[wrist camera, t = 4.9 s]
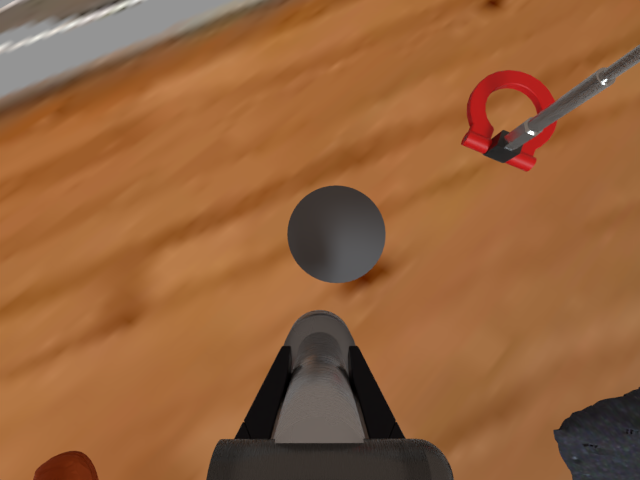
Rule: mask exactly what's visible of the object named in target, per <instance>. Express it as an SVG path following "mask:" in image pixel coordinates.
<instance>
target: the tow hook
mask: <svg viewBox="0 0 640 480" xmlns="http://www.w3.org/2000/svg"><path fill="white" fill-rule="evenodd" d="M639 62H640V45H638V46H637V47H635V48H634V49H633V50H631V51H630V52H628V53H627V54H626V55H624V56H623V57H621V58H620V59H619V60H617V61H616V62H614V63H613V64H612V65H610V66H609V67H607V68H606V67H603V68H600V69H599V70H597V71H596V72H595V73H593V74H592V75H590V76H589V77H588V78H586V79H585V80H584V81H582V82H581V83H579V84H578V85H577V86H575V87H574V88H573V89H571V90H570V91H569V92H567V93H566V94H564V95H563V96H562V97H560V98H559V99H558V100H556V101H555V100H554V98H553V96H552V95H551V93H550V91H549V90H548V88H547V87H546V86H545V85H544V84H543V83H542V82H541V81H539V80H538V79H536V78H535V77H533V76H531V75H529V74H526V73H524V72H521V71H514V70H504V71H498V72H495V73H493V74H490V75H488V76H487V77H485V78H484V79H483V80H482V81H480V82H479V83H478V85H477V86H476V87H475V88H474V90H473V91H472V93H471V94H470V97H469V100H468V103H467V118H468V123H469V126H470V128H469V131H468V132H467V133H466V134H465V136H464V137H463V139H462V142H461V145H463V146H465V147H468V148H470V149H472V150H475V151H477V152H480V153H482V154H483V155H484V156H486V157H489V158H491V159H493V160H496V161H498V162H501V163H506V164H509V165H511V166H514V167H516V168H518V169H521V170H523V171H526V172H527V171H529V170H531V169H532V168H533V166H534V165H535V163H536V160H537V159H536V158H535V157H533V156H534V153H535V150H536V149H538V148H539V147H541V146H542V145H543V144H545V143H546V142H547V141H548V140H549V139H550V137H551V136H552V134H553V133H554V131H555V128H556V124H557V121H558V119H560V118H561V117H563V116H564V115H566V114H567V113H569V112H570V111H572V110H573V109H575V108H577V107H578V106H580V105H581V104H583V103H584V102H586V101H587V100H589V99H590V98H592V97H593V96H595V95H597V94H598V93H600V92H601V91H603V90H604V89H606V88H607V87H609V86H610V85H612V84H613V83H614V82H615V80H616V77H618V76H619V75H621V74H622V73H624V72H625V71H627V70H628V69H630V68H631V67H633V66H634V65H636V64H637V63H639ZM505 88H508V89H515V90H517V91H520V92H522V93H523V94H525V95H527V97H528V98H529V99H530V100H531V101H532V102H533V104H534V106H535V108H536V112H537V115H536V116H534V117H530V118H529V119H527V120H526V121H525V122H523V123H522V124H521V125H519V126H518V127H517V128H515V129H514V130H512V131H511V132H508V131H505V130H502V131H501V132H500V133H498V134H497V135H496V136H494V137H493V138H492V139H491V137H492V134H493V132H494V128H493V126H492V125H491V124H490V122H489V120H488V118H487V115H486V102H487V99H488V97H489V95H490V94H491V93H492V92H494V91H496V90H499V89H505Z"/></svg>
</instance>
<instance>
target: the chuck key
mask: <svg viewBox="0 0 640 480" xmlns="http://www.w3.org/2000/svg"><path fill="white" fill-rule="evenodd" d="M284 346H291V350H292V373H291V377H290V381H289V384H288V388H287V392H286V395H285V399H284V402H283V406H282V409H281V413H280V417H279V420H278V424H277V427H276V431H275V435H274V438H273V439H220V440H219V441H218V443H217V444H216V446H215V449H214V451H213V454H212V457H211V460H210V464H209V468H208V473H207V478H206V480H454V477H453V472H452V469H451V466H450V464H449V462H448V460H447V458H446V456H445V455H444V454H443V453H442V452H441V450H440V449H439V448H437V447H436V446H435V445H434V444H432V443H430V442H429V441H426V440H423V439H365V436H364V432H363V429H362V425H361V421H360V418H359V414H358V410H357V407H356V403H355V399H354V395H353V392H352V388H351V384H350V381H349V376H348V349H349V346H356V345H355V342H354V339H353V337H352V335H351V333H350V331H349V329H348V327H347V325H346V324H345V322H344V321H343V320H342V319H341V318H340V317H339V316H337V315H336V314H334V313H332V312H329V311H325V310H314V311H310V312H307V313H305V314H304V315H302V316H301V317H300V318H298V319H297V320H296V322H295V323H294V324H293V326H292V328H291V330H290V332H289V334H288V336H287V338H286V340H285V343H284Z"/></svg>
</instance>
